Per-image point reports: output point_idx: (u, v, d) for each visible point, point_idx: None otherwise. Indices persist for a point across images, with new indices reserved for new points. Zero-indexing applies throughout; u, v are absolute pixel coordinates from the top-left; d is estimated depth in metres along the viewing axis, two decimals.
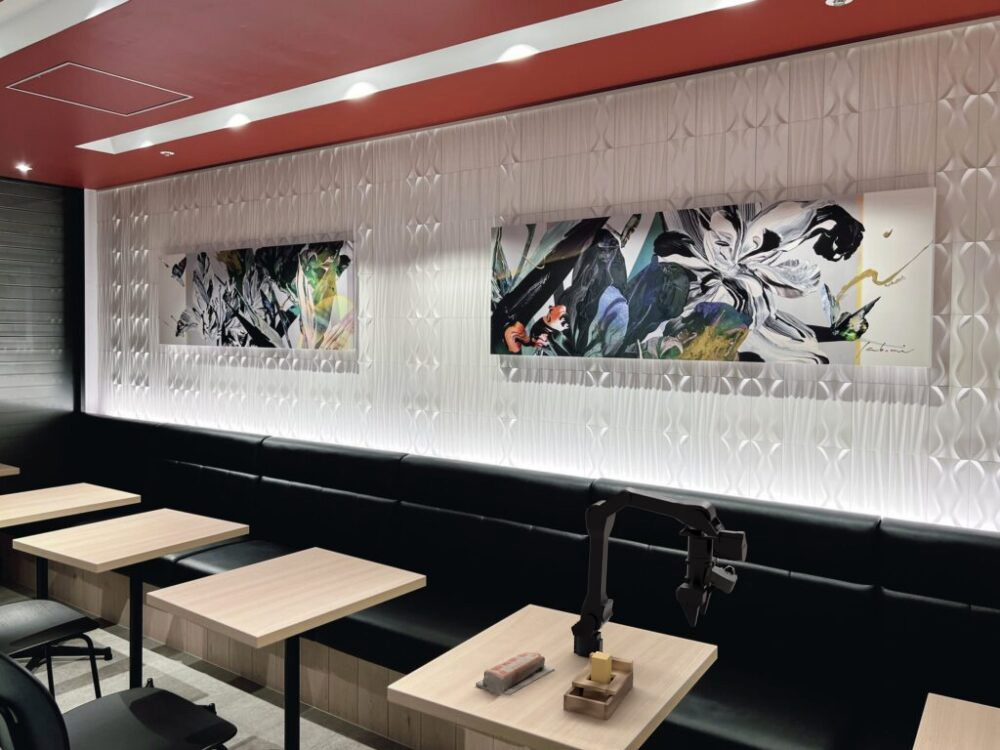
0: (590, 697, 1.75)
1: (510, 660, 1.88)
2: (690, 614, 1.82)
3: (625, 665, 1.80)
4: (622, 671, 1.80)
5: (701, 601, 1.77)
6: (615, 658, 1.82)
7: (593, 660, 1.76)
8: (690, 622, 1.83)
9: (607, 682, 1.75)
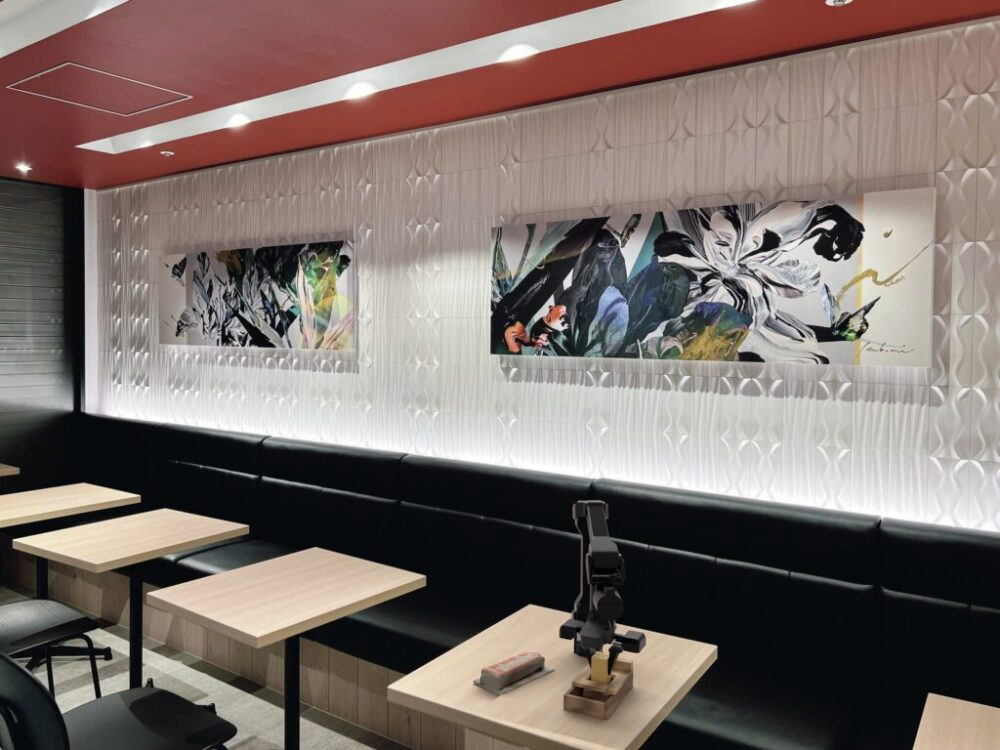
0: (590, 697, 1.75)
1: (509, 659, 1.88)
2: None
3: (625, 665, 1.80)
4: (622, 671, 1.80)
5: (559, 636, 1.78)
6: None
7: (593, 660, 1.76)
8: None
9: (607, 682, 1.75)
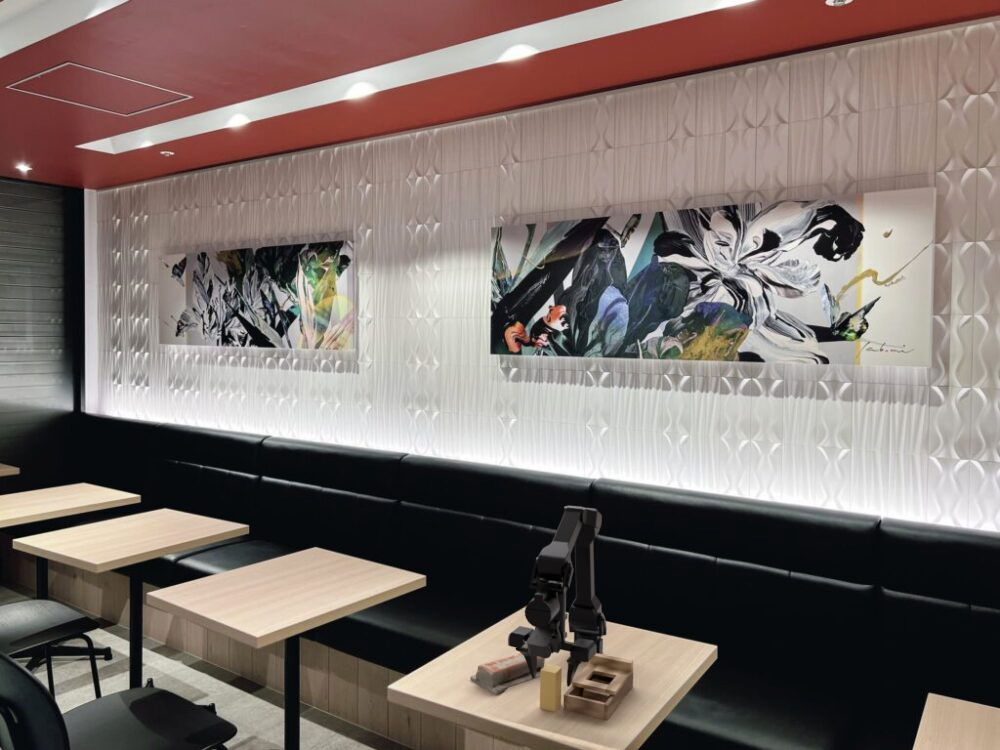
0: (590, 697, 1.75)
1: (508, 657, 1.89)
2: None
3: (625, 665, 1.80)
4: (622, 671, 1.80)
5: (508, 643, 1.72)
6: (615, 658, 1.82)
7: (542, 673, 1.70)
8: None
9: (556, 696, 1.70)
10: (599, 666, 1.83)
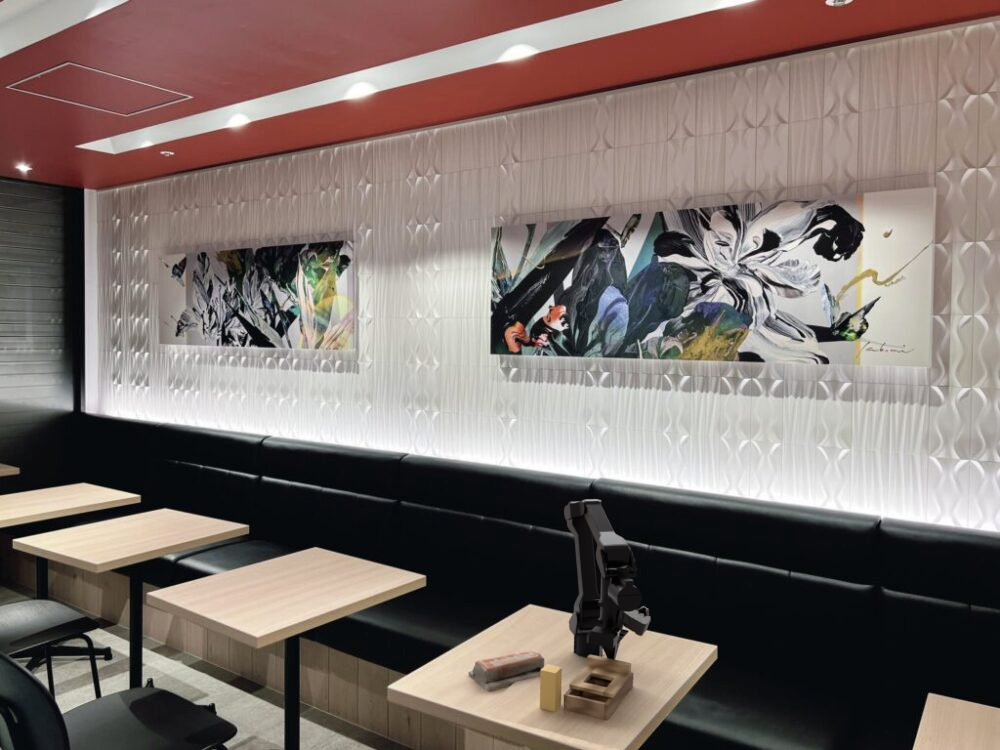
0: (590, 697, 1.75)
1: (508, 655, 1.90)
2: (608, 651, 1.82)
3: (623, 667, 1.79)
4: (620, 673, 1.79)
5: (612, 646, 1.73)
6: (613, 660, 1.81)
7: (542, 673, 1.70)
8: None
9: (556, 696, 1.70)
10: (597, 668, 1.81)
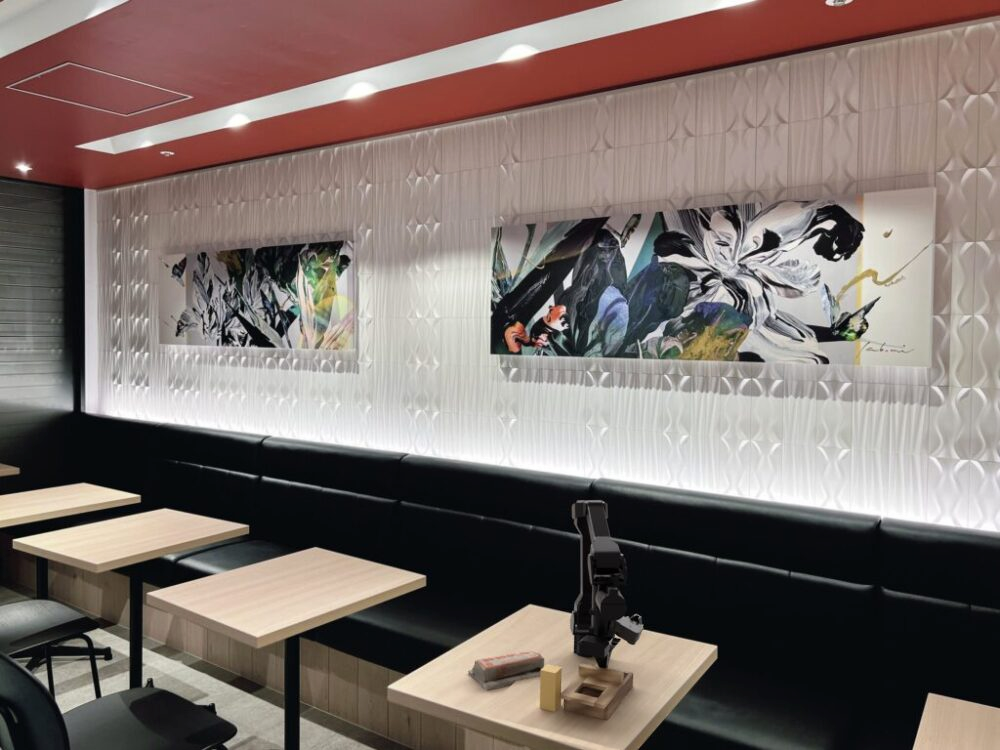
0: None
1: (508, 655, 1.91)
2: (600, 660, 1.77)
3: (615, 677, 1.74)
4: (612, 683, 1.74)
5: (603, 655, 1.68)
6: (605, 670, 1.76)
7: (542, 673, 1.70)
8: None
9: (556, 696, 1.70)
10: (588, 678, 1.76)
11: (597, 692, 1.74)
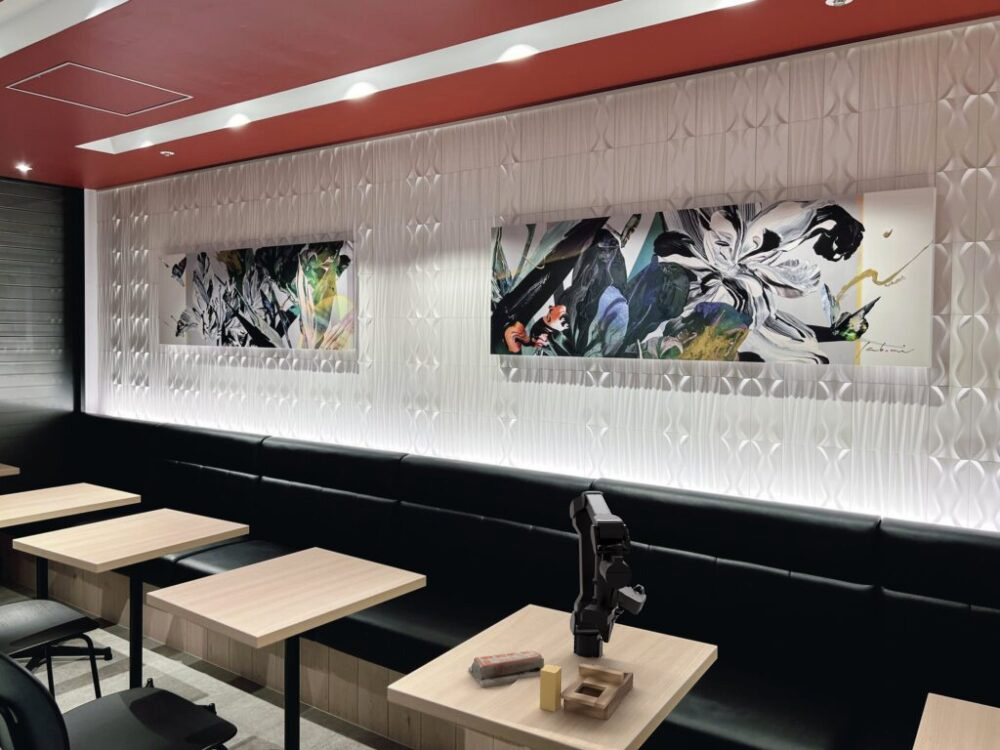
0: None
1: (508, 654, 1.91)
2: (603, 630, 1.78)
3: (615, 677, 1.74)
4: (612, 683, 1.74)
5: (606, 624, 1.69)
6: (606, 670, 1.76)
7: (542, 673, 1.70)
8: (603, 638, 1.79)
9: (556, 696, 1.70)
10: (589, 678, 1.76)
11: (597, 692, 1.74)
